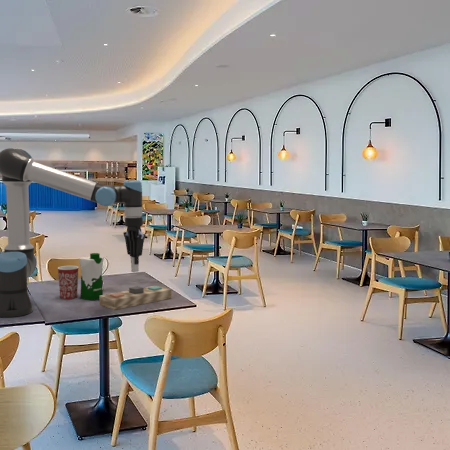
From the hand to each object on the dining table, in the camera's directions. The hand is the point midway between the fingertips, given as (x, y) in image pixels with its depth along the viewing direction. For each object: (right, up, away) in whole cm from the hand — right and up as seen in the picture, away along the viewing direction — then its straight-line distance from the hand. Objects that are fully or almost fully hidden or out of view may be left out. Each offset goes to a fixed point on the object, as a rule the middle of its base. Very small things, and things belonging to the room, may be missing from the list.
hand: (135, 271), depth 238 cm
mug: (-30, -12, +10) cm, 34 cm away
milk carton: (-21, -13, +8) cm, 25 cm away
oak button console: (0, -13, +3) cm, 13 cm away
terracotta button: (-7, -12, -5) cm, 15 cm away
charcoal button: (0, -10, +2) cm, 10 cm away
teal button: (+7, -11, +10) cm, 16 cm away
